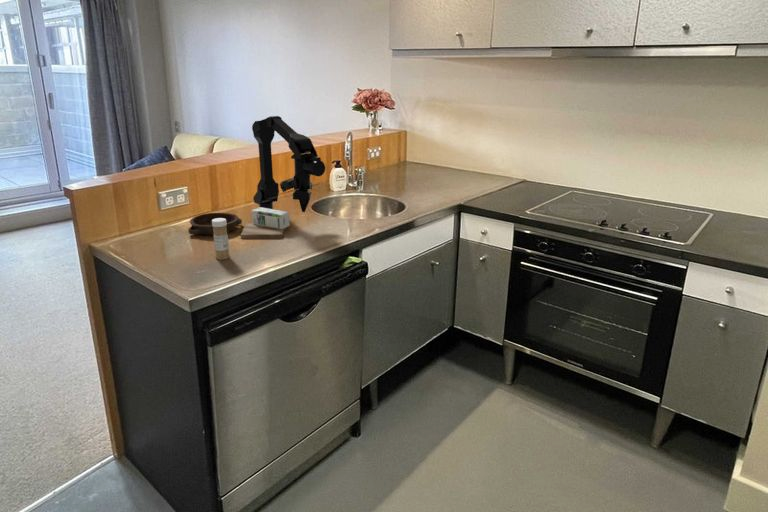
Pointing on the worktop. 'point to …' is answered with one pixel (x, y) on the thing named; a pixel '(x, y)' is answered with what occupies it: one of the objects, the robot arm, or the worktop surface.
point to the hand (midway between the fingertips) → (303, 211)
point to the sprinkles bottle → (220, 238)
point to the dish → (204, 223)
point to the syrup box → (270, 218)
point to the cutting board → (261, 231)
